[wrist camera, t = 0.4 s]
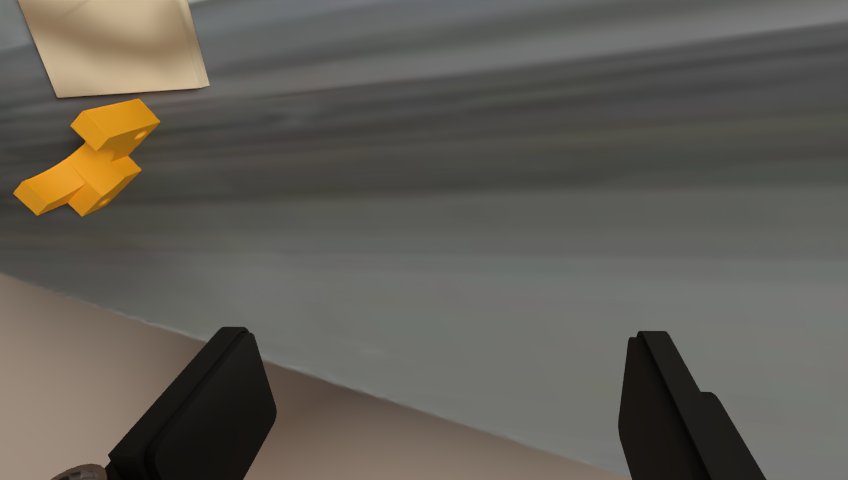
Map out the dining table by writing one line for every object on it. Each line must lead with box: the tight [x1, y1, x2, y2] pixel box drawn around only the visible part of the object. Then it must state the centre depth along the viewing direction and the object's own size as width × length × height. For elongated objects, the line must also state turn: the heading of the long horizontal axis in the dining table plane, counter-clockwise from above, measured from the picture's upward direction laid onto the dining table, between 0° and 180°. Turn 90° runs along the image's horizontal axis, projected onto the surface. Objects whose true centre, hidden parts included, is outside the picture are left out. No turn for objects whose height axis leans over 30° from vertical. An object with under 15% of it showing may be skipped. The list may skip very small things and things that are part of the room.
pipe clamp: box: [13, 99, 160, 217], centre depth 41 cm, size 12×4×6 cm, turn 127°
